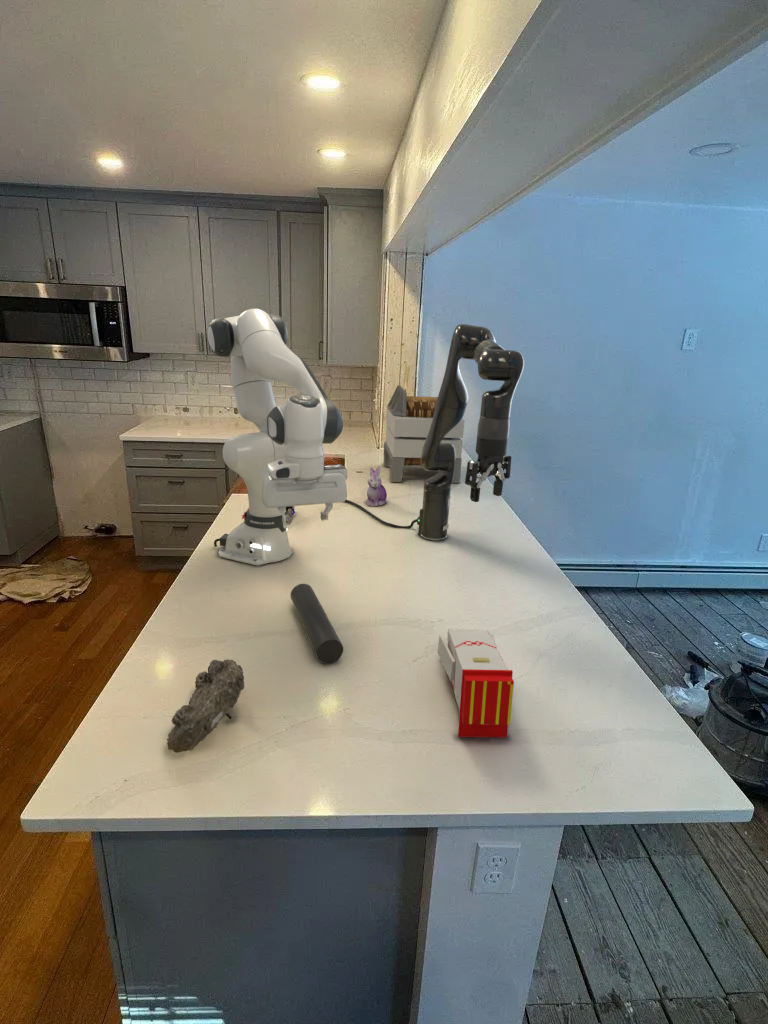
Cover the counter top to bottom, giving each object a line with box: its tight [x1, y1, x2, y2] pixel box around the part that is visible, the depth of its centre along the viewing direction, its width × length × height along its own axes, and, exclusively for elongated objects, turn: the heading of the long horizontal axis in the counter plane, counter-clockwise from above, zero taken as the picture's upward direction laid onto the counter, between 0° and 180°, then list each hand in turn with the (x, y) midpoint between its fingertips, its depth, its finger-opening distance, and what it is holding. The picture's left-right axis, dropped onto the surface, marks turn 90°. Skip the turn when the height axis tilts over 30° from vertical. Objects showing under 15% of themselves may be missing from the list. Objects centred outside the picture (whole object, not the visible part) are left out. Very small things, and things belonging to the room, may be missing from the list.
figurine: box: [366, 466, 388, 507], centre depth 227 cm, size 9×10×15 cm
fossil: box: [166, 658, 245, 754], centre depth 106 cm, size 22×10×15 cm
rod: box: [289, 583, 344, 664], centre depth 137 cm, size 28×6×6 cm, turn 21°
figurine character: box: [286, 506, 296, 519], centre depth 209 cm, size 7×8×15 cm
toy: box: [437, 628, 515, 738], centre depth 117 cm, size 12×13×30 cm
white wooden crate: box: [383, 384, 465, 484], centre depth 268 cm, size 34×33×41 cm
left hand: (305, 521), depth 138 cm, fingers open, 8 cm apart
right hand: (485, 498), depth 143 cm, fingers open, 8 cm apart
